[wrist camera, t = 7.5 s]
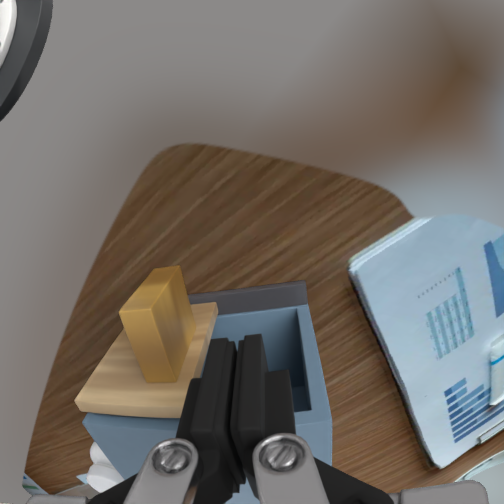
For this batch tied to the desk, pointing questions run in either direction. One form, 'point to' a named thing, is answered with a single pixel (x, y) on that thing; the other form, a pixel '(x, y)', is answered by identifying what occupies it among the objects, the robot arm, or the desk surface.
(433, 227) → the desk surface
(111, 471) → the pill bottle
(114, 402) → the tan piece
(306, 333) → the grey-blue hollow box
